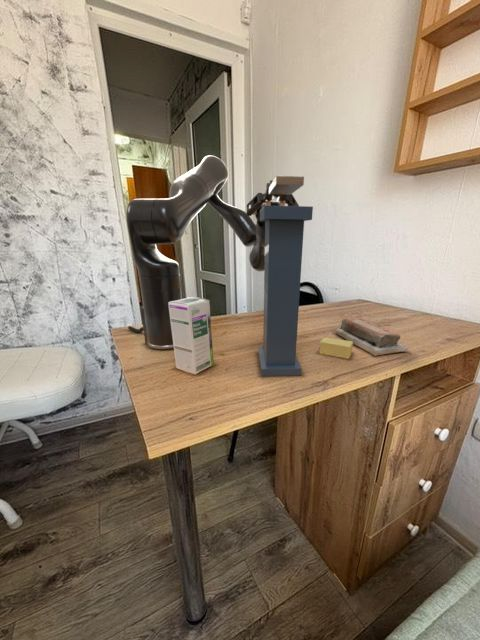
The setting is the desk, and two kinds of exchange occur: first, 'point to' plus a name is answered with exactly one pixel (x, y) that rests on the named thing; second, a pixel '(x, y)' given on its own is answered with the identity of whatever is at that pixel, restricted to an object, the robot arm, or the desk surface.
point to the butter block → (336, 347)
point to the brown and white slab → (285, 185)
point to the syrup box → (191, 334)
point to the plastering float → (370, 336)
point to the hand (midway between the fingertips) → (277, 184)
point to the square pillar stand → (282, 287)
